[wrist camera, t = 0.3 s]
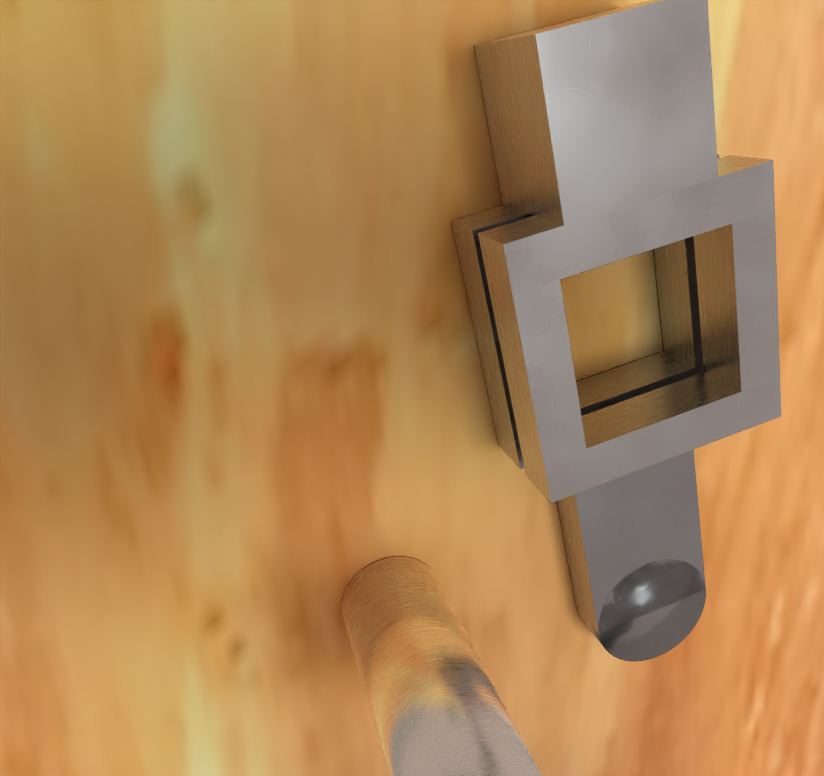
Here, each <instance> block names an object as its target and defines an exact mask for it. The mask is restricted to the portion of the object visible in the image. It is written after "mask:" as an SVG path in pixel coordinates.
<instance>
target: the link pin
mask: <svg viewBox="0 0 824 776" xmlns="http://www.w3.org/2000/svg"><path fill="white" fill-rule="evenodd" d="M341 609H342V616H343V619H344V623H345V626H346V629H347V633H348V636H349V639H350V642H351V646H352V649H353V652H354V656H355V659H356V662H357V665H358V669H359V672H360V675H361V678H362V682H363V685H364V688H365V692H366V695H367V698H368V701H369V705H370V708H371V711H372V715H373V718H374V721H375V724H376V728H377V731H378V734H379V738H380V741H381V744H382V747H383V751H384V754H385V757H386V761H387V764H388V767H389V770H390V774H391V776H541V774H540V772H539V770H538V768H537V767H536V765H535V763H534V761H533V759H532V757H531V755H530V753H529V751H528V749H527V748H526V746H525V744H524V742H523V740H522V738H521V736H520V734H519V732H518V731H517V729H516V727H515V725H514V723H513V721H512V719H511V717H510V715H509V713H508V712H507V710H506V708H505V706H504V704H503V702H502V700H501V698H500V696H499V694H498V693H497V691H496V689H495V687H494V685H493V683H492V681H491V679H490V677H489V676H488V674H487V672H486V670H485V668H484V666H483V664H482V662H481V660H480V658H479V657H478V655H477V653H476V651H475V649H474V647H473V645H472V643H471V641H470V639H469V638H468V636H467V634H466V632H465V630H464V628H463V626H462V624H461V622H460V620H459V619H458V617H457V615H456V613H455V611H454V609H453V607H452V605H451V603H450V602H449V600H448V598H447V596H446V594H445V592H444V590H443V588H442V586H441V584H440V583H439V581H438V579H437V577H436V575H435V573H434V572H433V571H432V569H431V568H430V567H429V566H427V565H426V564H425V563H423V562H421V561H419V560H417V559H414V558H410V557H401V556H397V557H389V558H385V559H381V560H378V561H376V562H374V563H372V564H370V565H368V566H367V567H365V568H364V569H362V570H361V571H360V572H359V573H358V574H357V575H356V576H355V577H354V578H353V579H352V580H351V582H350V583H349V585H348V586H347V588H346V590H345V593H344V595H343V599H342V607H341Z"/></svg>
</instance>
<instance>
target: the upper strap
mask: <svg viewBox="0 0 824 776" xmlns="http://www.w3.org/2000/svg"><path fill="white" fill-rule="evenodd" d="M474 49H475V54H476V60H477V65H478V71H479V76H480V82H481V87H482V93H483V98H484V104H485V109H486V115H487V120H488V126H489V131H490V137H491V142H492V148H493V153H494V159H495V164H496V169H497V175H498V180H499V186H500V191H501V197H502V202H503V205H504V206H507V207H510V208H513V209H516V210H519V211H522V212H525V213H528V214H531V215H534V216H531V217H528V218H525V219H521V220H518V221H515V222H512V223H509V224H505V225H502V226H499V227H496V228H492V229H489V230H486V231H483V232H479V233H478V237H479V242H480V247H481V252H482V257H483V262H484V267H485V272H486V277H487V282H488V287H489V292H490V297H491V302H492V307H493V312H494V317H495V322H496V327H497V332H498V337H499V342H500V347H501V352H502V357H503V362H504V367H505V372H506V377H507V382H508V387H509V392H510V397H511V402H512V407H513V412H514V417H515V422H516V427H517V432H518V437H519V442H520V447H521V452H522V457H523V462H524V467H525V472H526V476H527V477H528V478H529V479H530V480H531V481H532V482H533V484H534V485H535V486H536V487H537V488H538V489H539V490H540V491H541V492H542V493H543V495H544V496H545V497H546V498H547V499H548V500H549V501H550V502H551V503H553V502H556V501H558V500H561V499H563V498H566V497H569V496H571V495H574V494H577V493H579V492H582V491H585V490H587V489H590V488H593V487H595V486H598V485H600V484H603V483H606V482H608V481H611V480H614V479H616V478H619V477H622V476H624V475H627V474H630V473H632V472H635V471H638V470H640V469H643V468H645V467H648V466H651V465H653V464H656V463H659V462H661V461H664V460H667V459H669V458H672V457H675V456H677V455H680V454H682V453H685V452H688V451H690V450H693V449H696V448H698V447H701V446H704V445H706V444H709V443H712V442H714V441H717V440H720V439H722V438H725V437H727V436H730V435H733V434H735V433H738V432H741V431H743V430H746V429H749V428H751V427H754V426H757V425H759V424H762V423H764V422H767V421H770V420H772V419H775V418H778V417H780V416H781V395H780V363H779V330H778V298H777V266H776V234H775V202H774V170H773V160H768V159H759V158H749V157H739V156H726V157H723V158H719V159H717V149H716V133H715V116H714V100H713V84H712V67H711V51H710V35H709V19H708V2H707V0H652V1H647V2H642V3H638V4H633V5H628V6H624V7H619V8H615V9H611V10H607V11H604V12H600V13H596V14H592V15H588V16H585V17H581V18H577V19H573V20H569V21H566V22H562V23H558V24H554V25H551V26H547V27H543V28H539V29H535V30H532V31H528V32H524V33H520V34H516V35H513V36H509V37H505V38H501V39H498V40H494V41H490V42H486V43H482V44H479V45H475V46H474ZM692 236H693V237H694V250H695V263H696V276H697V288H698V301H699V314H700V327H701V340H702V353H703V366H704V372H703V373H700V374H697V375H694V376H692V377H689V378H686V379H683V380H680V381H678V382H675V383H672V384H669V385H667V386H664V387H661V388H658V389H655V390H653V391H650V392H647V393H644V394H642V395H639V396H636V397H633V398H630V399H628V400H625V401H622V402H619V403H617V404H614V405H611V406H608V407H605V408H603V409H600V410H597V411H594V412H592V413H589V414H586V415H583V416H581V411H580V404H579V398H578V392H577V385H576V379H575V373H574V366H573V360H572V354H571V347H570V341H569V334H568V328H567V322H566V315H565V309H564V303H563V296H562V290H561V283H560V279H563V278H566V277H569V276H572V275H575V274H578V273H582V272H585V271H588V270H591V269H594V268H597V267H600V266H603V265H606V264H609V263H612V262H615V261H618V260H621V259H625V258H628V257H631V256H634V255H637V254H640V253H643V252H646V251H649V250H652V249H655V248H658V247H661V246H664V245H668V244H671V243H674V242H677V241H680V240H683V239H686V238H689V237H692Z"/></svg>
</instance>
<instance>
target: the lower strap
mask: <svg viewBox="0 0 824 776" xmlns="http://www.w3.org/2000/svg"><path fill="white" fill-rule="evenodd" d="M717 159H719V154H717ZM531 216H534V215H531V214H528V213H525V212H522V211H519V210H516V209H513V208H510V207H507V206H504V205H502V206H499V207H496V208H492V209H489V210H486V211H482V212H479V213H476V214H473V215H469V216H466V217H463V218H459V219H456V220H453V221H451V222H452V227H453V231H454V236H455V241H456V246H457V250H458V255H459V260H460V264H461V269H462V274H463V278H464V283H465V288H466V292H467V297H468V302H469V307H470V311H471V316H472V321H473V325H474V330H475V335H476V339H477V344H478V349H479V354H480V358H481V363H482V368H483V372H484V377H485V382H486V386H487V391H488V396H489V401H490V405H491V410H492V415H493V419H494V424H495V429H496V433H497V438H498V443H499V446H500V447H501V448H502V449H503V451H504V452H505V453H506V454H507V455H508V456H509V457H510V458H511V459H512V460H513V462H514V463H515V464H516V465H517V466H518V467H519V468H520V469H522V468H525V467H524V462H523V457H522V452H521V447H520V442H519V437H518V432H517V427H516V422H515V417H514V412H513V407H512V402H511V397H510V392H509V387H508V382H507V377H506V372H505V367H504V362H503V357H502V352H501V347H500V342H499V337H498V332H497V327H496V322H495V317H494V312H493V307H492V302H491V297H490V292H489V287H488V282H487V277H486V272H485V267H484V262H483V257H482V252H481V247H480V242H479V237H478V233H479V232H483V231H486V230H489V229H492V228H496V227H499V226H502V225H505V224H509V223H512V222H515V221H518V220H521V219H525V218H528V217H531ZM653 250H654V260H655V269H656V279H657V289H658V299H659V309H660V319H661V329H662V339H663V349H664V351H662V352H659V353H656V354H654V355H651V356H648V357H645V358H642V359H639V360H636V361H634V362H631V363H628V364H625V365H622V366H619V367H617V368H614V369H611V370H608V371H605V372H602V373H599V374H597V375H594V376H591V377H588V378H585V379H582V380H580V381H577V382H576V385H577V392H578V398H579V404H580V411H581V416H583V415H586V414H589V413H592V412H594V411H597V410H600V409H603V408H605V407H608V406H611V405H614V404H617V403H619V402H622V401H625V400H628V399H630V398H633V397H636V396H639V395H642V394H644V393H647V392H650V391H653V390H655V389H658V388H661V387H664V386H667V385H669V384H672V383H675V382H678V381H680V380H683V379H686V378H689V377H692V376H694V375H697V374H700V373H703V372H704V366H703V353H702V340H701V327H700V314H699V301H698V288H697V276H696V263H695V250H694V237H693V236H692V237H689V238H686V239H683V240H680V241H677V242H674V243H671V244H668V245H664V246H661V247H658V248H655V249H653ZM557 504H558V510H559V515H560V521H561V526H562V532H563V537H564V543H565V548H566V554H567V559H568V565H569V570H570V576H571V581H572V586H573V592H574V597H575V603H576V607H577V610H578V613H579V615H580V616H581V618H582V619H583V620H584V622H585V623H586V624H587V626H588V627H589V628H590V630H591V631H592V632H593V633H594V635H595V636H596V637H597V639H598V640H599V641H600V643H601V644H602V645H603V647H604V648H605V649H606V650H607V651H608V652H609V653H610V654H611V655H613V656H614V657H616V658H619V659H621V660H625V661H644V660H648V659H652V658H655V657H657V656H660V655H662V654H664V653H666V652H668V651H669V650H671V649H672V648H674V647H675V646H676V645H678V644H679V643H680V642H681V641H682V640H683V639H684V638H685V637H686V636H687V635H688V634H689V633H690V632H691V630H692V629H693V628H694V626H695V625H696V623H697V622H698V620H699V618H700V616H701V613H702V611H703V608H704V604H705V598H706V587H705V576H704V565H703V553H702V542H701V531H700V519H699V508H698V497H697V486H696V474H695V463H694V452H693V450H690V451H688V452H685V453H682V454H680V455H677V456H675V457H672V458H669V459H667V460H664V461H661V462H659V463H656V464H653V465H651V466H648V467H645V468H643V469H640V470H638V471H635V472H632V473H630V474H627V475H624V476H622V477H619V478H616V479H614V480H611V481H608V482H606V483H603V484H600V485H598V486H595V487H593V488H590V489H587V490H585V491H582V492H579V493H577V494H574V495H571V496H569V497H566V498H563V499H561V500H558V501H557Z"/></svg>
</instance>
